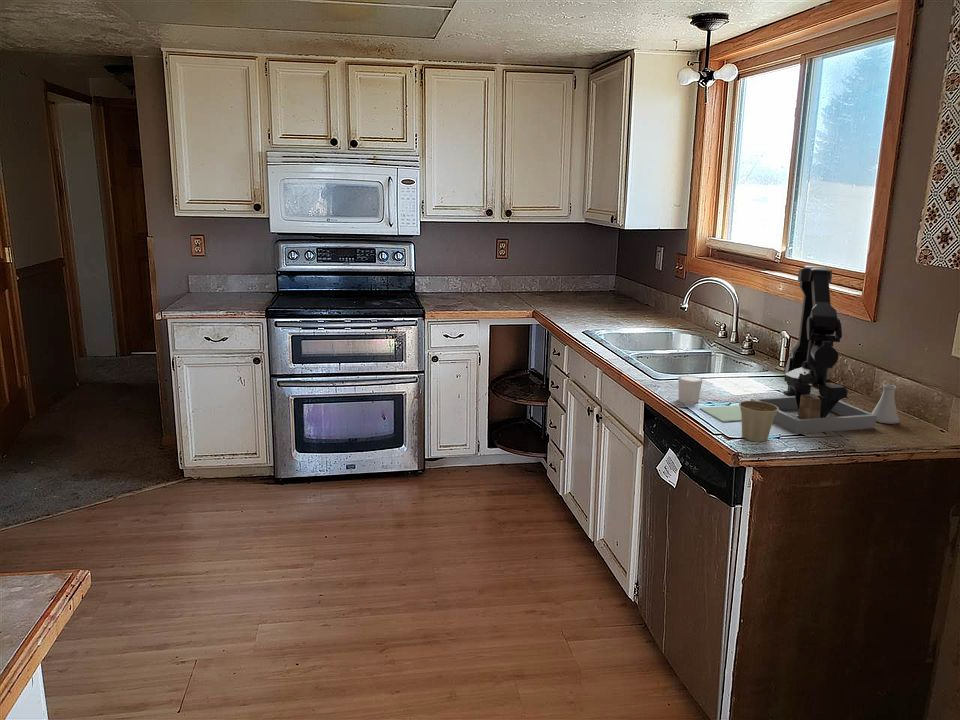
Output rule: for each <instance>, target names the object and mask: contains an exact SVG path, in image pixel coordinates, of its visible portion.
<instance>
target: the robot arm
mask: <svg viewBox="0 0 960 720" xmlns="http://www.w3.org/2000/svg"><path fill="white" fill-rule="evenodd" d="M832 276H833V269H832V270H831V269H828V268H827V266H818V265H817V266H816V265H815V266H814V265H804V266H803V268H800V269H798V274H797V281H798V282H799V288H800V291H801V292H802V294H803V299H802V308H801V316H800V317H801V318H800V324H799V325H800V326H799V332H798V340H797V344H796V345H795V346H794V347H793V348H792V349H791V353H790V356H789V357H788V359H787V361H786V364H785V374H784V382H786V385H787V390H783V392H782V393H783V394H785V395H787V396H795V397H796V402H797V406H798V409H797V410H799V405H800V398H801V395H806V394H811V391H812V387H813V388H815V389H818V392H819V393H818V395H821V396H818V397H819V399H820V400H821V410H820V418H826V417H827V416H828V415H829V413H830V412H832V411H831V410H832V408H833V407H834V406H835V405H836V403H837V402H838V401H839V400H840V401H842V400H843V399H845V398H847V397H848V393H849V392H848V391H849V390H848V389H847V387H846V386H843V385H841V384H839V383H831V381H832V379H831V378H830V377H829V371H830V370H829V369H833V367H834V366H835V365H836V364H837V362H838V361H839V353H838V350H836V349H835V347H834V343H840V341H841V339H842V337H843V329H842V328H843V327H842V322H841V319H840V318H839V317H838V311H837V310H836V309H835V307H833V306H832V304H831V292H830V290H831V289H830V284H831V283H832V278H833V277H832Z"/></svg>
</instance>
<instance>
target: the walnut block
mask: <svg viewBox="0 0 960 720" xmlns="http://www.w3.org/2000/svg"><path fill="white" fill-rule="evenodd" d="M818 395H819V394H815V393H812V394H811V393H810V394H806V395H801V398H800V405H799V409H798V413H797V414H798V415H797V417H798V419H812V418H820V410H821V400H820V399H819V397H818Z"/></svg>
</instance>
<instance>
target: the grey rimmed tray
mask: <svg viewBox="0 0 960 720" xmlns="http://www.w3.org/2000/svg"><path fill="white" fill-rule="evenodd" d="M817 395H818V396H821V395H820V394H817ZM750 401H761V402H766V403H770V404H773V405H775V406H777V407H778V408H779V410H778V411H777V412H776V415H775V416H774V419H773V422H772V423H774V424H776V425H778V426H780V427H782V428H784V429H786V430H788V431H790V432H792V433H794V434H796V435H798V434H800V435H801V434H813V433H814V434H815V433H826V432H841V431H852V430H866V429H867V430H868V429H875V428H876V423H877V421H876V418H877V416H876V415H874V414H872V412H868V411H866V410H864V409H861V408H858V407H856V406H855V405H852V404H849V403H847V402H844V401H842V400H839V401H838V402H837V403H836V405H835V406H834V407H833V408H832V410H831V411H830V412H832V413H835V414H837V415H839V416H830V417H827V416H826V418H812V419H801V418H797V417H796V416H793V415H790V414H789V413H786V412H784V411H783V410H799V409H798V406H797V402H796V397H795V396H789V395H787V396H773V397H756V398H755V397H754V398H750Z"/></svg>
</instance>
